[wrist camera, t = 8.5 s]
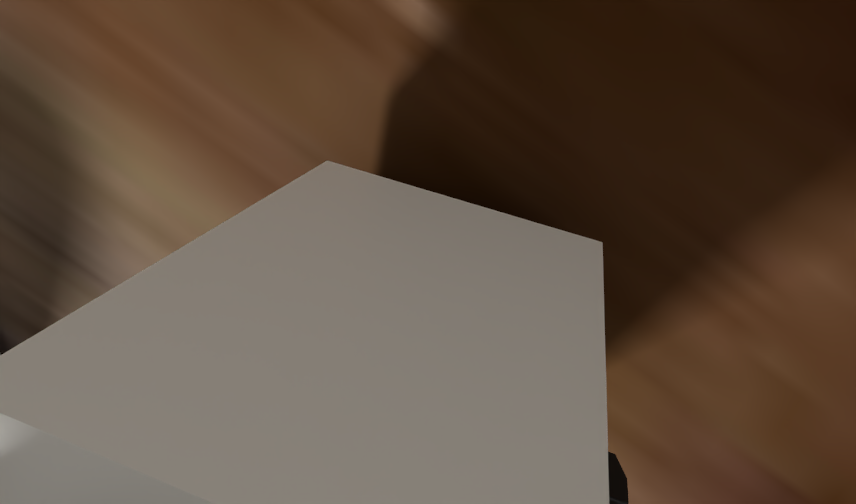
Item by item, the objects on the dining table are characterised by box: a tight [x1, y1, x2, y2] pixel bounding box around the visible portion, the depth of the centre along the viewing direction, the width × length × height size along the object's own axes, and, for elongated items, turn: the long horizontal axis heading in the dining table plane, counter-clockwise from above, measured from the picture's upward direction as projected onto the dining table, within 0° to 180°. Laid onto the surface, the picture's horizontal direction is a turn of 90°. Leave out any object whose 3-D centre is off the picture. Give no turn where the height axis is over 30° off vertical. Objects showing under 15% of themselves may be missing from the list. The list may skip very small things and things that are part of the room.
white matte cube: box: [0, 161, 609, 504], centre depth 10 cm, size 7×7×9 cm
